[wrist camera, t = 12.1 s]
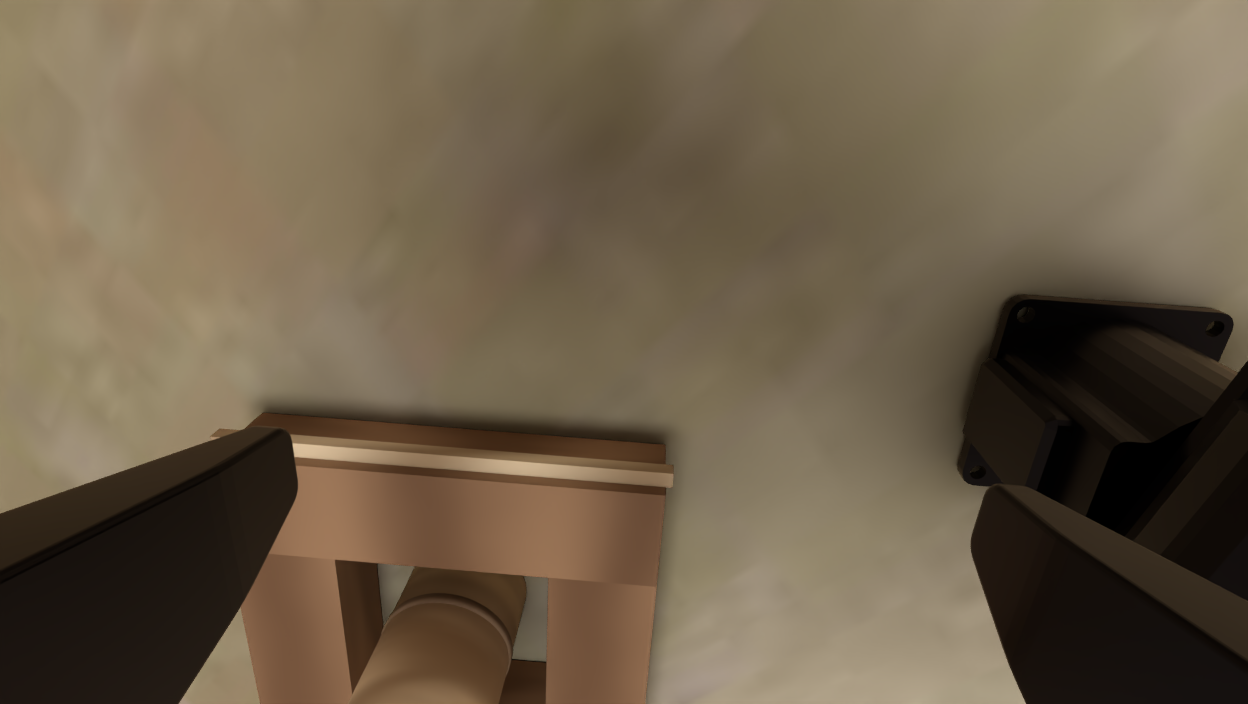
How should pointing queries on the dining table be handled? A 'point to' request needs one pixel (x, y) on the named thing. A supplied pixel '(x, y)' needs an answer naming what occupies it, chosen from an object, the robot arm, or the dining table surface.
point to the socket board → (460, 551)
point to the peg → (446, 640)
